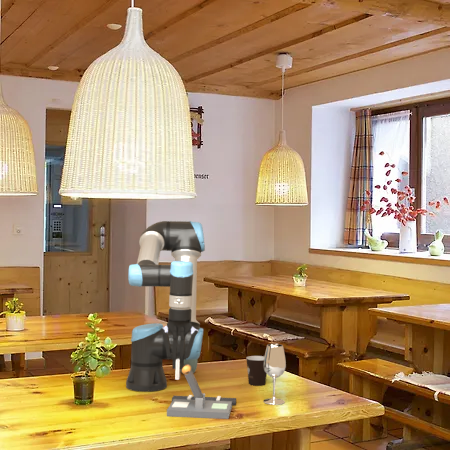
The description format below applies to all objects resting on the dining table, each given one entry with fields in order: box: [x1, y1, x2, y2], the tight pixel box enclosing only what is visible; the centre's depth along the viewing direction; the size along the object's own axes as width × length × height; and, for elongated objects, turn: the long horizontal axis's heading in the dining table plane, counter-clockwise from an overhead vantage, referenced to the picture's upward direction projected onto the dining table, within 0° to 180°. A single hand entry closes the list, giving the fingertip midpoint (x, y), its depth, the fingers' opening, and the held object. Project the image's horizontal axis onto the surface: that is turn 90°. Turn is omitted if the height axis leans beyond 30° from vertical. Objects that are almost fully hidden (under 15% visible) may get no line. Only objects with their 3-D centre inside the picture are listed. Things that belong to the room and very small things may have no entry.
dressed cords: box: [171, 394, 237, 406], centre depth 260 cm, size 22×5×2 cm, turn 85°
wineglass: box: [262, 343, 287, 406], centre depth 263 cm, size 8×8×20 cm
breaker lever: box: [181, 364, 203, 399], centre depth 250 cm, size 3×4×13 cm, turn 174°
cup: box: [180, 358, 199, 374], centre depth 305 cm, size 8×8×10 cm
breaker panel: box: [166, 392, 233, 420], centre depth 249 cm, size 20×14×5 cm
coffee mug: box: [245, 355, 267, 387], centre depth 291 cm, size 12×9×10 cm
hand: (177, 378), depth 250 cm, fingers closed
